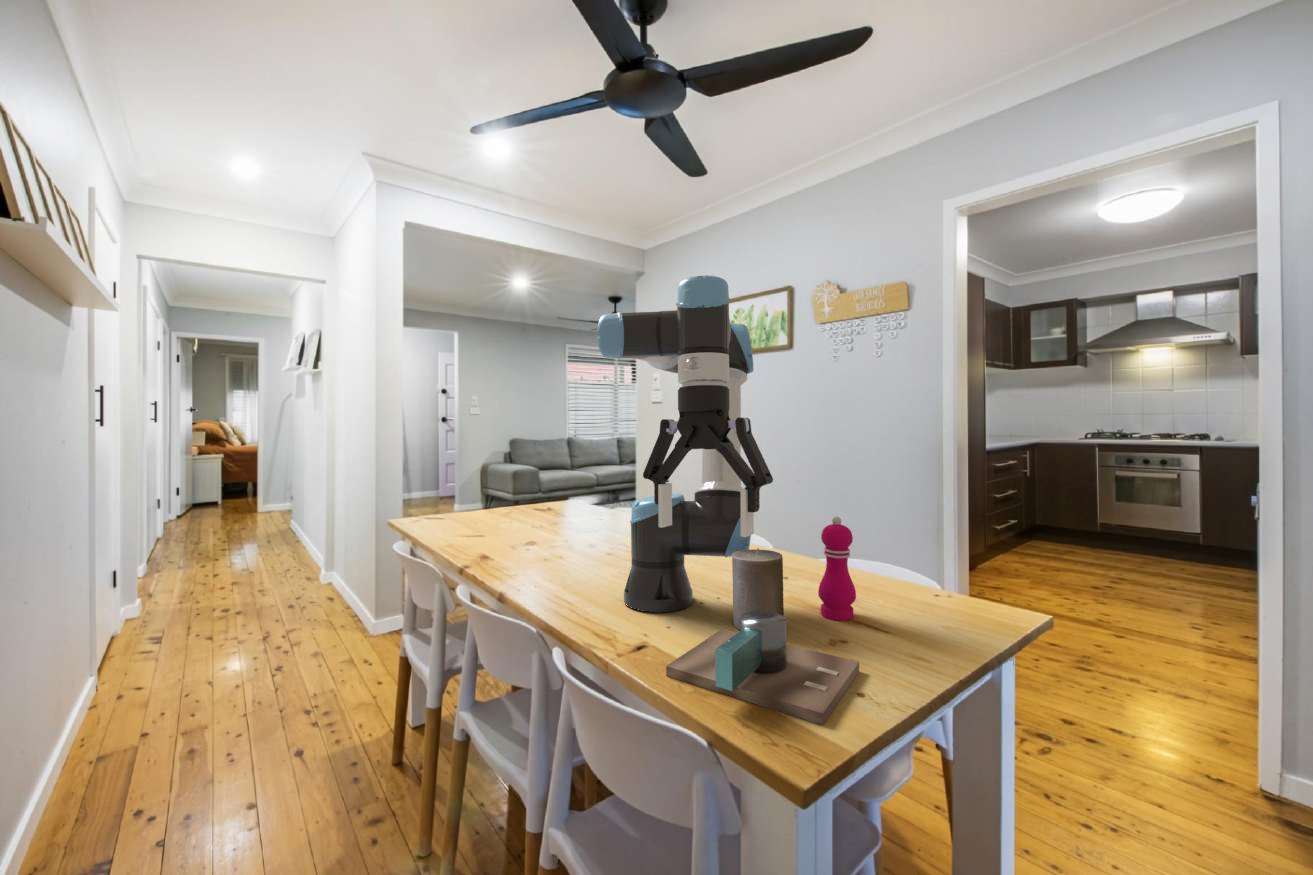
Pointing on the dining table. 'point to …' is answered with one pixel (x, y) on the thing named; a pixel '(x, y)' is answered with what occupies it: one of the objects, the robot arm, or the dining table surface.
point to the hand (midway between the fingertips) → (704, 530)
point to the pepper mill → (837, 573)
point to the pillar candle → (757, 582)
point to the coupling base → (775, 679)
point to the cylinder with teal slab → (752, 649)
